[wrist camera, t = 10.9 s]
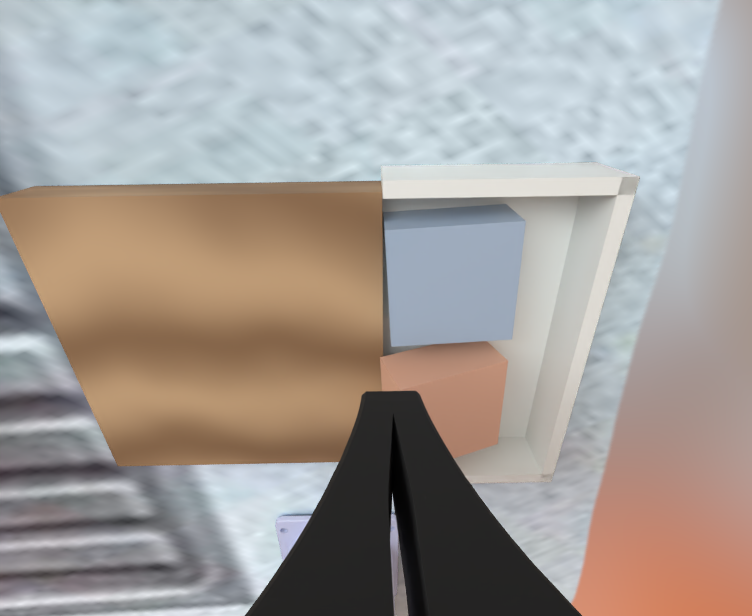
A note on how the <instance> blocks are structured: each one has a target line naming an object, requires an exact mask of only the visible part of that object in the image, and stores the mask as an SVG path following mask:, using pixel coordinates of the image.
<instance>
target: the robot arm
mask: <svg viewBox="0 0 752 616" xmlns="http://www.w3.org/2000/svg"><path fill="white" fill-rule="evenodd" d="M392 493H393V500H394V507H395V515H394V514H391V509H392ZM275 526H276V531H277V535H278V540H279V545H280V549H281V554H282V559H283V562H282V564H281V566H280V567H279V569H278V570H277V572H276V573H275V575H274V576H273V578H272V579H271V580H270V582H269V583H268V585H267V586H266V588H265V589H264V591H263V592H262V593H261V595H260V596H259V597H258V599H257V600H256V601H255V603H254V604H253V606H252V607H251V608H250V610H249V611H248V612H247V614H246V615H245V616H395V602H394V597H395V596H396V595H397V577H398V536H399V543H400V550H401V558H402V565H403V572H404V579H405V586H406V595H407V604H408V614H409V616H582V615H581V614H580V613H579V612H578V611H577V610H576V609H575V608H574V607H573V606H572V604H571V603H570V602H569V601H568V600H567V599H566V598H565V597H564V596H563V595H562V594H561V593H560V592H559V591H558V589H557V588H556V587H555V586H554V585H553V584H552V583H551V582H550V581H549V580H548V579H547V578H546V577H545V576H544V574H543V573H542V572H541V571H540V570H539V569H538V568H537V567H536V566H535V565H534V564H533V563H532V561H531V560H530V559H529V558H528V557H527V556H526V554H525V553H524V552H523V551H522V550H521V549H520V547H519V546H518V545H517V544H516V543H515V541H514V540H513V539H512V538H511V537H510V535H509V534H508V533H507V532H506V531H505V529H504V528H503V527H502V526H501V524H500V523H499V522H498V521H497V519H496V518H495V517H494V515H493V514H492V513H491V512H490V510H489V509H488V508H487V506H486V505H485V504H484V502H483V501H482V499H481V498H480V497H479V495H478V494H477V492H476V491H475V490H474V488H473V487H472V485H471V484H470V482H469V481H468V480H467V478H466V477H465V475H464V474H463V472H462V471H461V469H460V468H459V466H458V465H457V463H456V461H455V460H454V458H453V456H452V455H451V453H450V452H449V450H448V448H447V447H446V445H445V443H444V442H443V440H442V438H441V437H440V435H439V433H438V431H437V429H436V428H435V426H434V424H433V422H432V420H431V418H430V416H429V414H428V412H427V410H426V408H425V405H424V403H423V401H422V398H421V396H420V394H419V393H418V392H417V391H366V392H365V393H364V394H362V396H361V403H360V407H359V411H358V414H357V418H356V421H355V424H354V427H353V429H352V432H351V435H350V437H349V440H348V442H347V445H346V447H345V449H344V452H343V454H342V457H341V459H340V461H339V463H338V466H337V468H336V470H335V472H334V474H333V476H332V478H331V480H330V482H329V484H328V486H327V488H326V490H325V492H324V494H323V496H322V498H321V500H320V501H319V503H318V505H317V507H316V509H315V510H314V512H313V514H312V515H305V516H280V517H278V518H277V520H276V525H275Z"/></svg>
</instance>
